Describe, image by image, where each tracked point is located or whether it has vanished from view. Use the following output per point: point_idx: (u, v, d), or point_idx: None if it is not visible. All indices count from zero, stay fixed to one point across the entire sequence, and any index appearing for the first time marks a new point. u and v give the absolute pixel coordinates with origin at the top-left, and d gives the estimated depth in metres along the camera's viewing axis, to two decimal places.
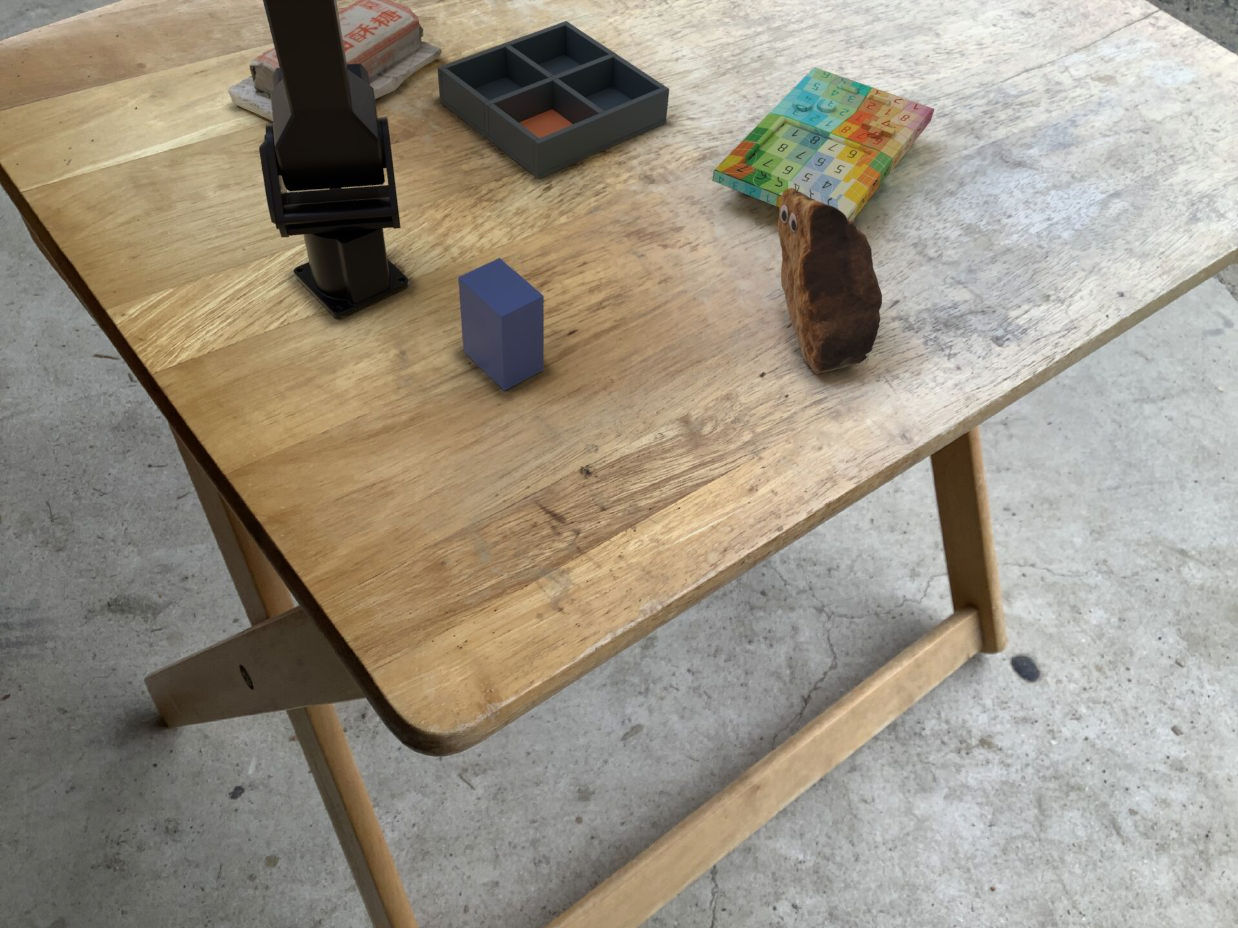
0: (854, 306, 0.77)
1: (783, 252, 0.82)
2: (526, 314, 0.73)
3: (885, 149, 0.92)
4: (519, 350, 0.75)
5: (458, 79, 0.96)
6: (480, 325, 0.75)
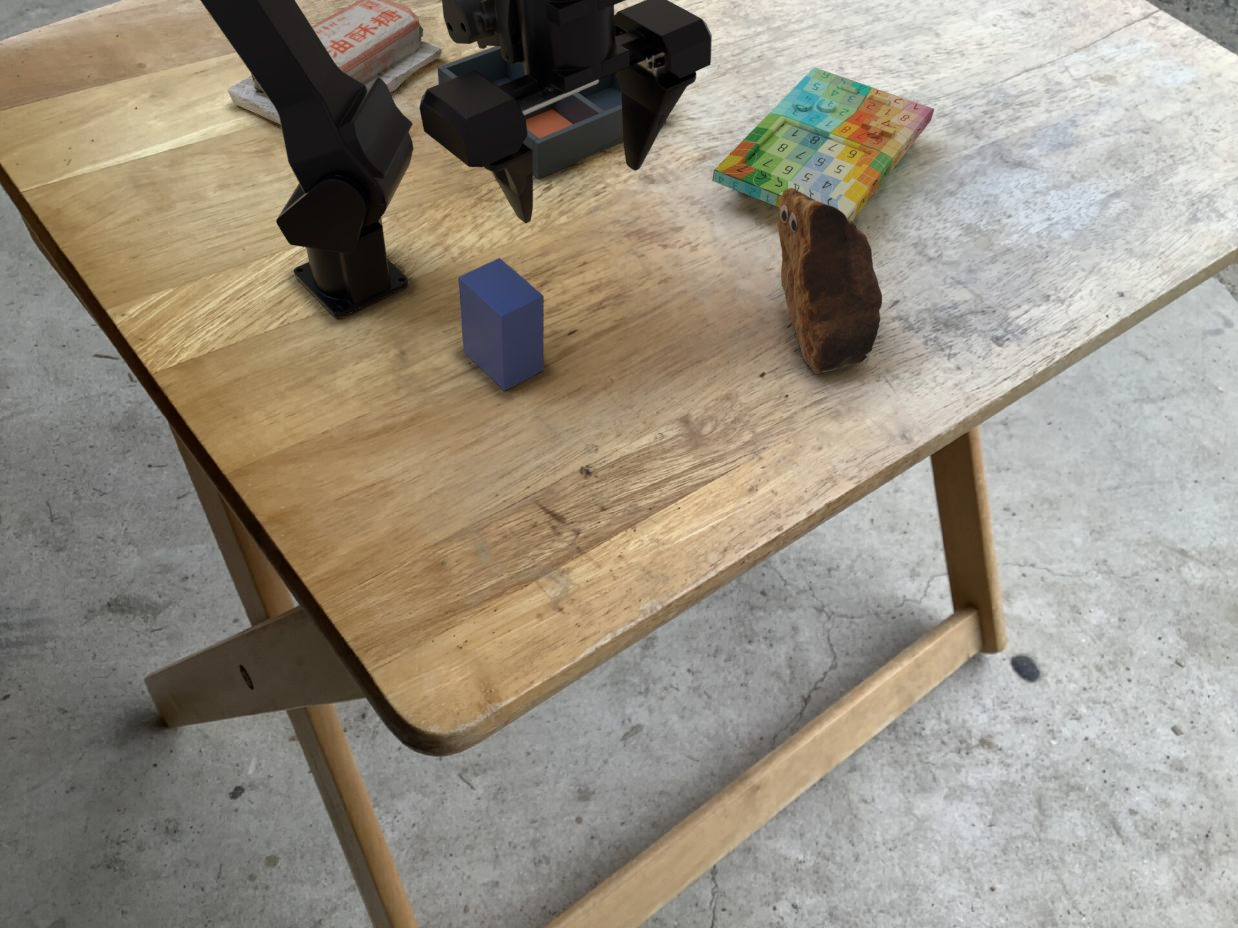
0: (854, 306, 0.77)
1: (783, 252, 0.82)
2: (526, 314, 0.73)
3: (885, 149, 0.92)
4: (519, 350, 0.75)
5: None
6: (480, 325, 0.75)
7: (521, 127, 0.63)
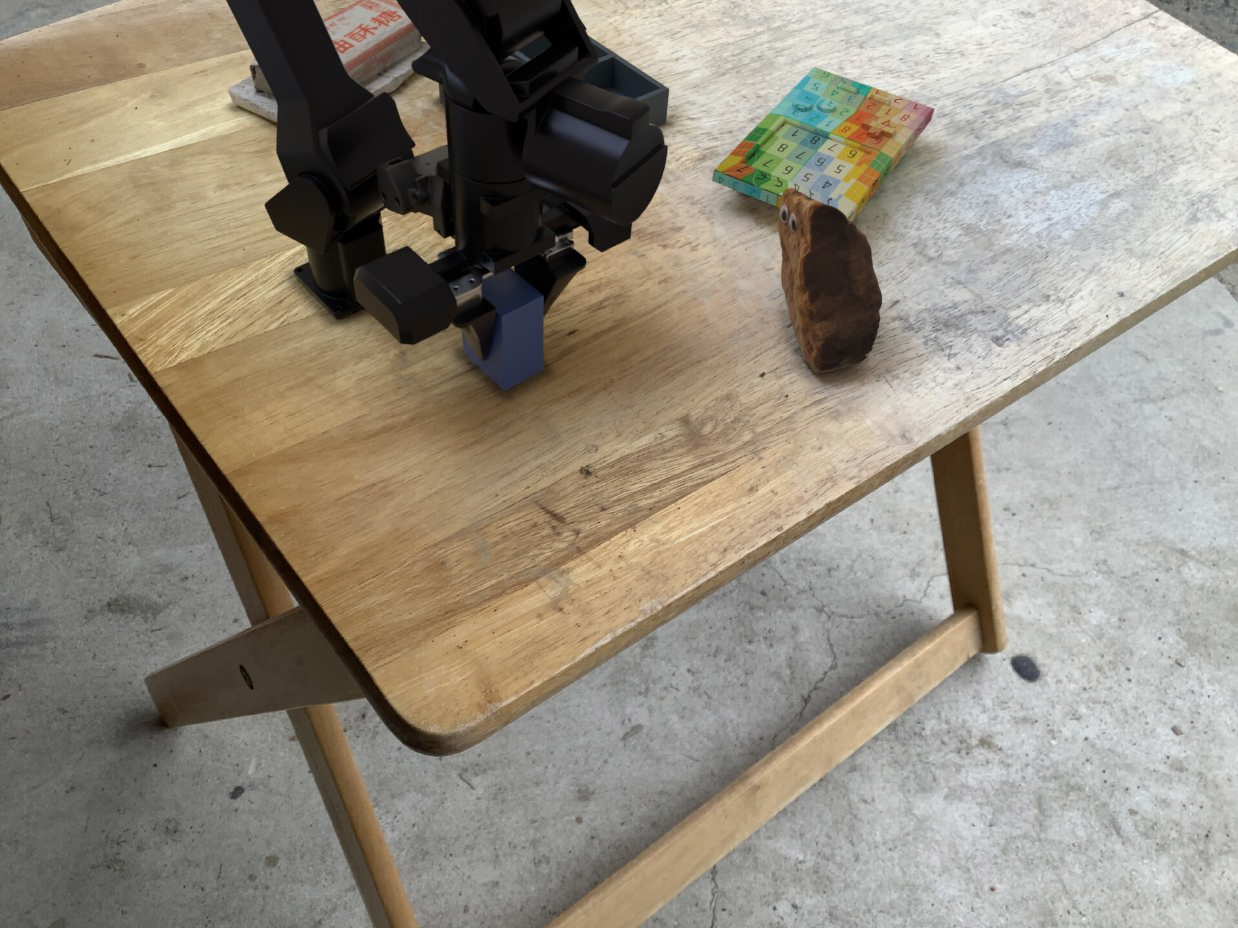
0: (854, 306, 0.77)
1: (783, 252, 0.82)
2: (526, 314, 0.73)
3: (885, 149, 0.92)
4: (519, 350, 0.75)
5: None
6: None
7: (452, 308, 0.67)
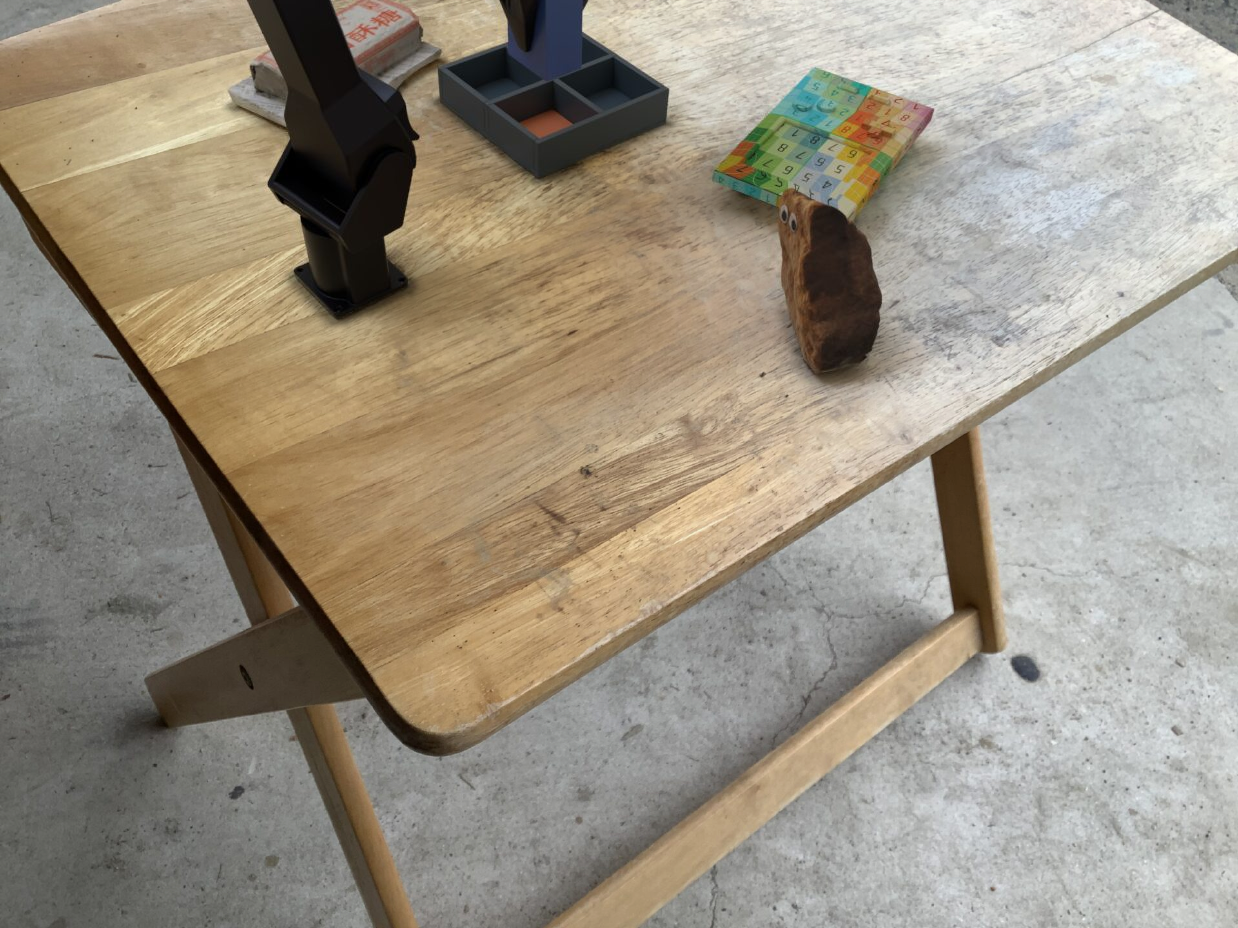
0: (854, 306, 0.77)
1: (783, 252, 0.82)
2: None
3: (885, 149, 0.92)
4: (560, 38, 0.83)
5: (458, 79, 0.96)
6: None
7: None
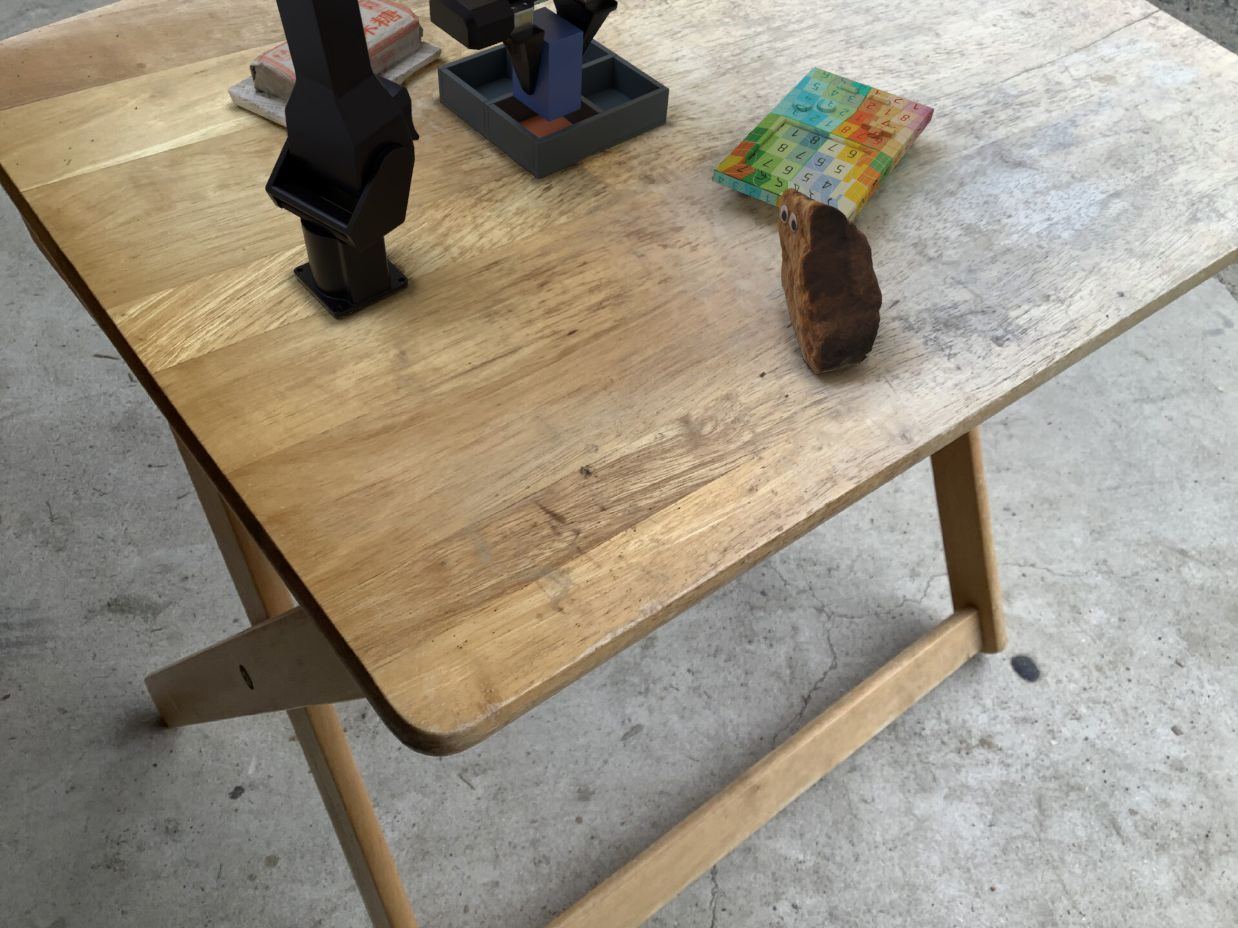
0: (854, 306, 0.77)
1: (783, 252, 0.82)
2: (568, 46, 0.88)
3: (885, 149, 0.92)
4: (561, 83, 0.90)
5: (458, 79, 0.96)
6: None
7: (510, 21, 0.82)
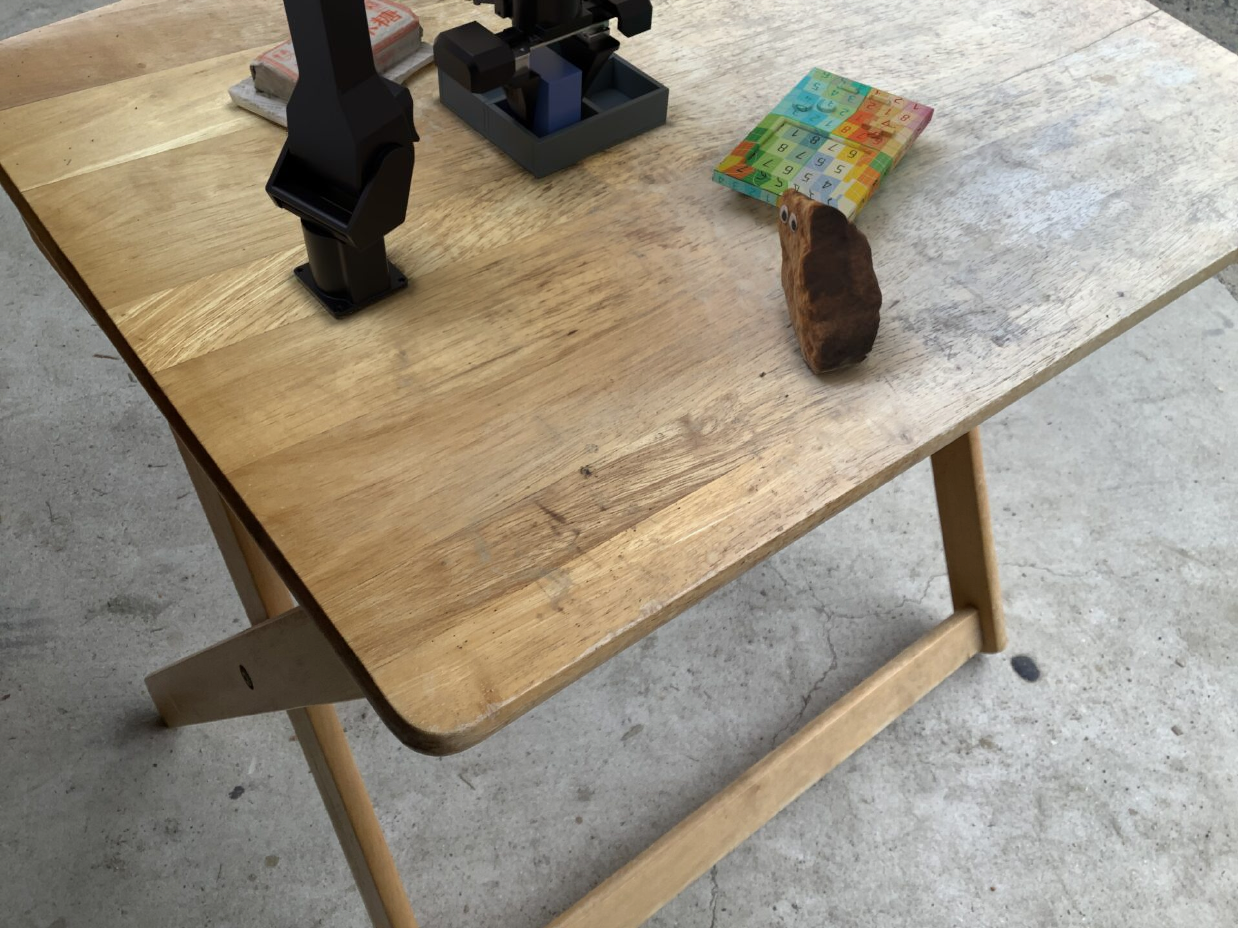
0: (854, 306, 0.77)
1: (783, 252, 0.82)
2: (567, 85, 0.91)
3: (885, 149, 0.92)
4: (561, 120, 0.92)
5: None
6: None
7: (511, 65, 0.85)
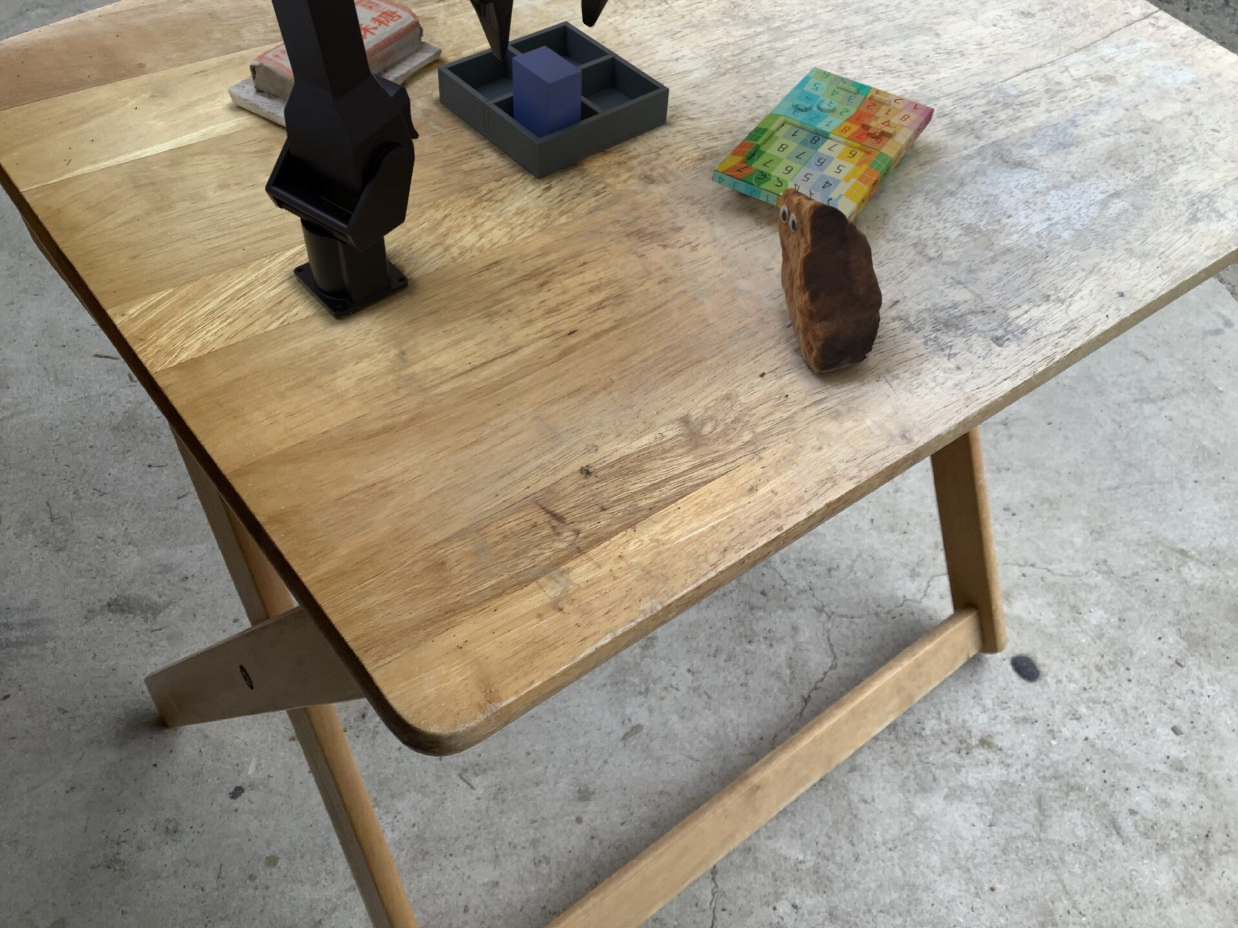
0: (854, 306, 0.77)
1: (783, 252, 0.82)
2: (567, 85, 0.91)
3: (885, 149, 0.92)
4: (561, 120, 0.92)
5: (458, 79, 0.96)
6: (530, 99, 0.92)
7: None
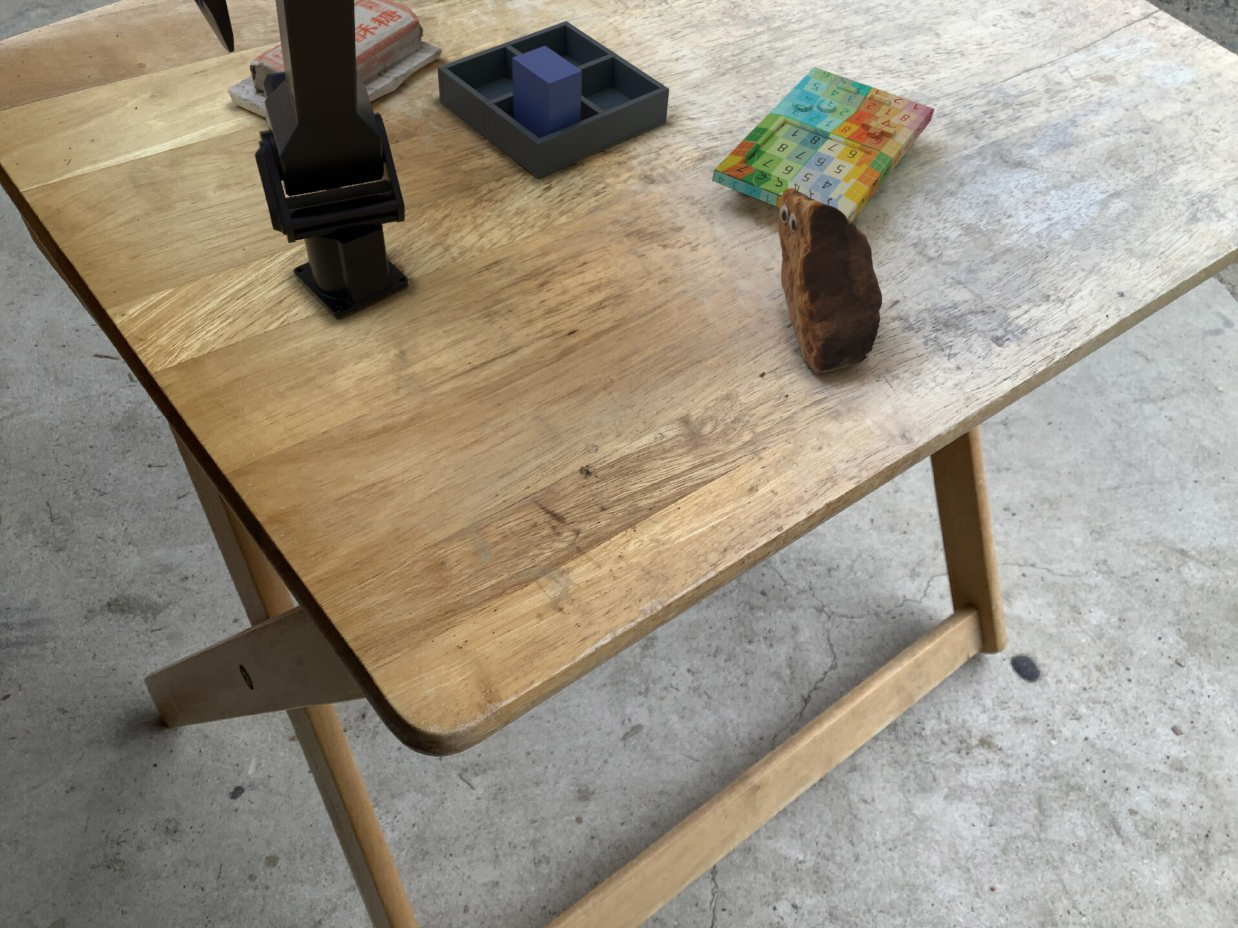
0: (854, 306, 0.77)
1: (783, 252, 0.82)
2: (567, 85, 0.91)
3: (885, 149, 0.92)
4: (561, 120, 0.92)
5: (458, 79, 0.96)
6: (530, 99, 0.92)
7: None
